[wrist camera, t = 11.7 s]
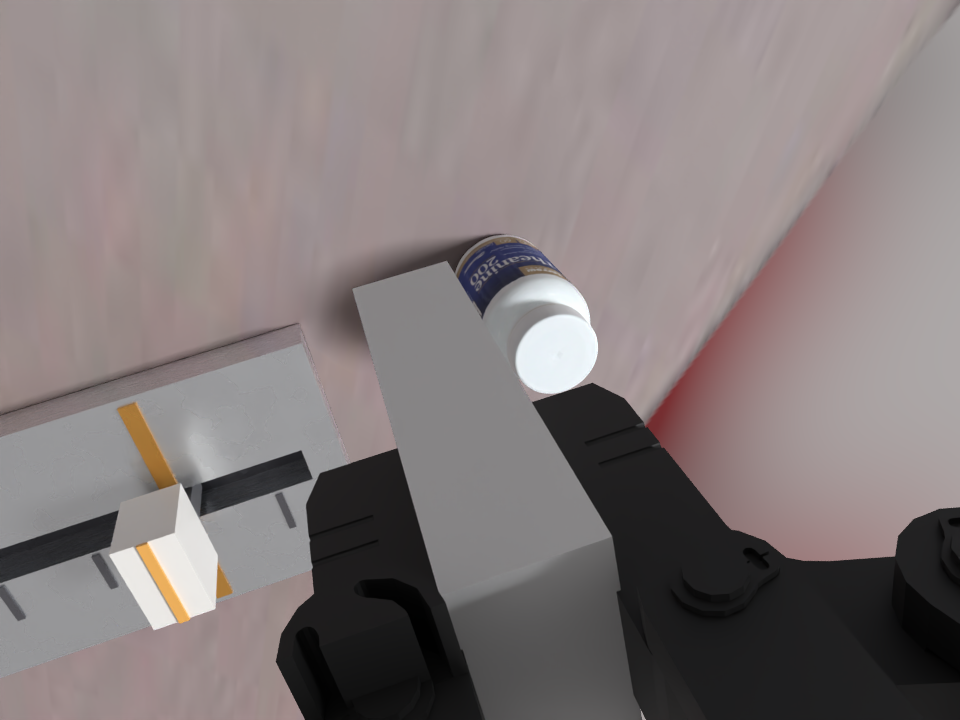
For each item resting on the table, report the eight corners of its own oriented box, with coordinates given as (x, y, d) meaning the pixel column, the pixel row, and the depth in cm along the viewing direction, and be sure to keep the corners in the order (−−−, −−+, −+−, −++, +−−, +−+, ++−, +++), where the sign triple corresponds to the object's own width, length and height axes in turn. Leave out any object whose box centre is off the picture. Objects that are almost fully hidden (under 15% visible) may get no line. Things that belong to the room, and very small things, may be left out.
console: (-259, 495, 39) (-290, 529, 37) (299, 323, 43) (302, 344, 40) (-98, 681, 46) (-116, 720, 44) (372, 520, 49) (378, 548, 47)
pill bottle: (534, 219, 43) (603, 283, 35) (552, 306, 46) (621, 385, 38) (439, 249, 43) (487, 322, 34) (463, 335, 45) (513, 422, 37)
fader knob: (130, 458, 43) (108, 557, 36) (185, 440, 44) (174, 534, 37) (168, 527, 46) (153, 632, 39) (220, 510, 46) (215, 611, 39)
